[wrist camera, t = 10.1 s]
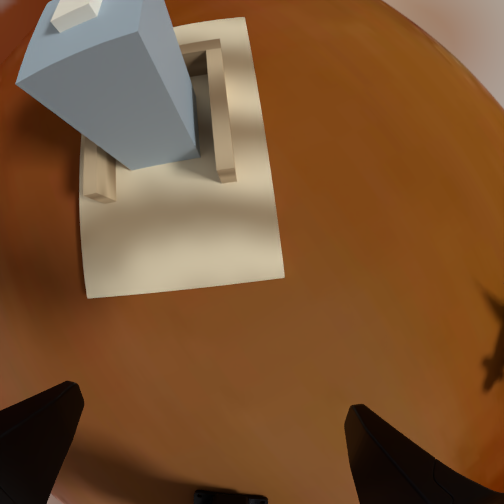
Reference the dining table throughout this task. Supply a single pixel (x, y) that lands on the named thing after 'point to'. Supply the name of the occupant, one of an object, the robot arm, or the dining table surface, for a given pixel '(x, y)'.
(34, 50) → the blue-grey rectangular block
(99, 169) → the jig
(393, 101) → the dining table surface
